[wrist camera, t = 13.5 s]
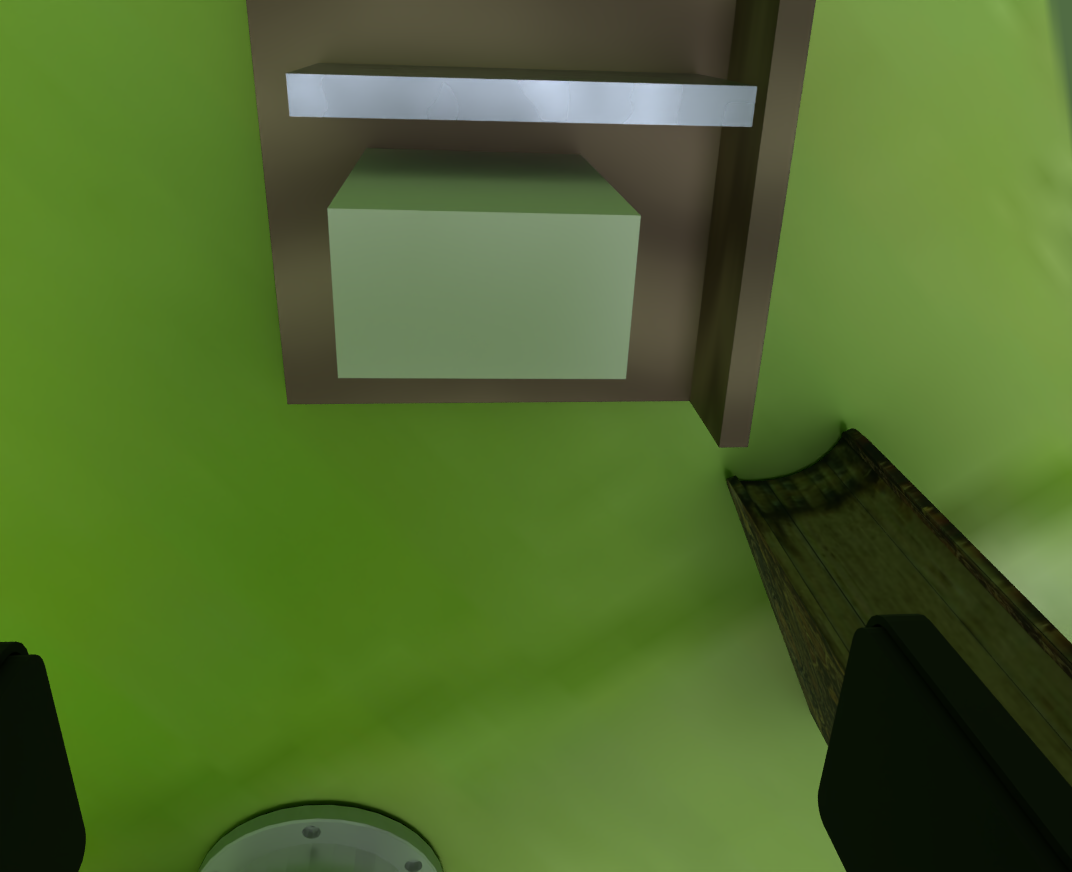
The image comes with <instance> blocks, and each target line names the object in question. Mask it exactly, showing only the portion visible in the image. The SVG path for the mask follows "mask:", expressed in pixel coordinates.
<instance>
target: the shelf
mask: <svg viewBox="0 0 1072 872" xmlns="http://www.w3.org/2000/svg"><path fill="white" fill-rule="evenodd" d="M815 2H816V0H246V3H247V13H248V23H249V32H250V42H251V52H252V62H253V72H254V81H255V91H256V101H257V111H258V120H259V130H260V140H261V150H262V159H263V169H264V179H265V189H266V198H267V208H268V218H269V228H270V237H271V247H272V257H273V267H274V276H275V286H276V296H277V306H278V315H279V325H280V335H281V345H282V354H283V364H284V374H285V384H286V393H287V403H288V404H373V403H494V402H615V401H690V402H691V404H692V405H693V407H694V408H695V410H696V412H697V413H698V415H699V416H700V418H701V419H702V421H703V423H704V424H705V426H706V427H707V429H708V431H709V432H710V434H711V435H712V437H713V438H714V440H715V442H716V443H717V445H718V446H719V447H748V443H749V436H750V430H751V423H752V416H753V410H754V403H755V397H756V390H757V383H758V377H759V370H760V364H761V357H762V351H763V344H764V337H765V331H766V324H767V318H768V311H769V305H770V298H771V291H772V285H773V278H774V272H775V265H776V259H777V252H778V245H779V239H780V232H781V226H782V219H783V212H784V206H785V199H786V193H787V186H788V180H789V173H790V166H791V160H792V153H793V147H794V140H795V134H796V127H797V120H798V114H799V107H800V101H801V94H802V87H803V81H804V74H805V68H806V61H807V55H808V48H809V41H810V35H811V28H812V22H813V15H814V9H815ZM366 148H380V149H414V150H447V151H480V152H514V153H547V154H581V155H582V156H583V157H584V158H585V159H586V160H587V161H588V162H589V164H590V165H591V166H592V167H593V168H594V169H595V170H596V171H597V172H598V173H599V174H600V175H601V176H602V177H603V178H604V179H605V180H606V181H607V182H608V183H609V184H610V185H611V186H612V187H613V188H614V189H615V190H616V191H617V192H618V193H619V194H620V195H621V196H622V197H623V198H624V199H625V200H626V201H627V202H628V203H629V204H630V205H631V206H632V207H633V208H634V209H635V210H636V211H637V212H638V213H639V214H640V215H641V219H640V230H639V241H638V252H637V263H636V274H635V285H634V296H633V307H632V318H631V328H630V339H629V350H628V361H627V372H626V379H463V378H338V370H337V354H336V338H335V322H334V306H333V290H332V274H331V258H330V243H329V227H328V211H327V208H328V207H329V205H330V204H331V202H332V200H333V199H334V197H335V196H336V194H337V193H338V191H339V190H340V188H341V187H342V185H343V184H344V182H345V180H346V179H347V177H348V176H349V174H350V173H351V171H352V170H353V168H354V167H355V165H356V163H357V162H358V160H359V159H360V157H361V156H362V154H363V153H364V151H365V150H366Z"/></svg>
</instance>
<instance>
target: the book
mask: <svg viewBox="0 0 1072 872" xmlns="http://www.w3.org/2000/svg"><path fill="white" fill-rule="evenodd" d="M726 481H727V485H728V488H729V490H730V493H731V496H732V499H733V502H734V504H735V507H736V510H737V513H738V515H739V518H740V521H741V524H742V527H743V529H744V532H745V535H746V538H747V540H748V543H749V546H750V549H751V551H752V554H753V557H754V560H755V562H756V565H757V568H758V570H759V573H760V576H761V579H762V581H763V584H764V587H765V590H766V592H767V595H768V598H769V600H770V603H771V606H772V609H773V611H774V614H775V617H776V620H777V622H778V625H779V628H780V630H781V633H782V636H783V639H784V641H785V644H786V647H787V650H788V652H789V655H790V658H791V660H792V663H793V666H794V669H795V671H796V674H797V677H798V680H799V682H800V685H801V688H802V690H803V693H804V696H805V699H806V701H807V704H808V707H809V710H810V712H811V714H812V716H813V718H814V720H815V722H816V724H817V726H818V728H819V730H820V732H821V734H822V735H823V737H824V739H825V741H826V743H827V745H828V746H829V741H830V737H831V732H832V728H833V723H834V719H835V714H836V710H837V706H838V701H839V697H840V692H841V688H842V683H843V679H844V674H845V670H846V665H847V661H848V656H849V652H850V648H851V643H852V639H853V636H854V633H855V631H856V630H857V629H858V628H861V627H866V624H867V622H868V620H869V619H870V618H871V617H872V616H875V615H887V614H922V615H924V616H926V617H927V618H928V619H929V620H930V621H931V622H932V623H933V624H934V626H935V627H936V628H937V629H938V630H939V631H940V633H941V634H942V635H943V636H944V637H945V639H946V640H947V641H948V642H949V643H950V644H951V646H952V647H953V648H954V649H955V650H956V651H957V653H958V654H959V655H960V656H961V657H962V659H963V660H964V661H965V662H966V663H967V664H968V666H969V667H970V668H971V669H972V670H973V671H974V673H975V674H976V675H977V676H978V677H979V678H980V680H981V681H982V682H983V683H984V684H985V686H986V687H987V688H988V689H989V690H990V691H991V693H992V694H993V695H994V696H995V697H996V698H997V700H998V701H999V702H1000V703H1001V704H1002V706H1003V707H1004V708H1005V709H1006V710H1007V711H1008V713H1009V714H1010V715H1011V716H1012V717H1013V718H1014V720H1015V721H1016V722H1017V723H1018V724H1019V725H1020V727H1021V728H1022V729H1023V730H1024V731H1025V733H1026V734H1027V735H1028V736H1029V737H1030V738H1031V740H1032V741H1033V742H1034V743H1035V744H1036V745H1037V747H1038V748H1039V749H1040V750H1041V751H1042V753H1043V754H1044V755H1045V756H1046V757H1047V758H1048V760H1049V761H1050V762H1051V763H1052V764H1053V765H1054V767H1055V768H1056V769H1057V770H1058V771H1059V772H1060V774H1061V775H1062V776H1063V777H1064V778H1065V780H1066V781H1067V782H1068V783H1069V784H1070V785H1071V787H1072V644H1071V643H1070V642H1069V641H1068V640H1067V639H1066V638H1065V637H1064V636H1063V635H1062V634H1061V633H1060V632H1059V631H1058V630H1057V629H1056V628H1055V627H1054V625H1053V624H1052V623H1051V622H1050V621H1049V620H1048V619H1047V618H1046V617H1045V616H1044V615H1043V614H1042V613H1041V612H1040V611H1039V610H1038V609H1037V608H1036V607H1035V606H1034V605H1033V604H1032V603H1031V602H1030V601H1029V600H1028V599H1027V598H1026V597H1025V596H1024V595H1023V594H1022V593H1021V592H1020V591H1019V590H1018V589H1017V588H1016V587H1015V586H1014V585H1013V584H1012V583H1011V582H1010V581H1009V580H1008V579H1007V578H1006V577H1005V576H1004V575H1003V574H1002V573H1001V572H1000V571H999V570H998V569H997V568H996V567H995V566H994V565H993V564H992V563H991V562H990V561H989V560H988V559H987V558H986V557H985V556H984V555H983V554H982V553H981V552H980V551H979V550H978V549H977V548H976V547H975V546H974V545H973V544H972V543H971V542H970V541H969V540H968V539H967V538H966V537H965V536H964V535H963V534H962V533H961V532H960V531H959V530H958V529H957V528H956V527H955V526H954V525H953V524H952V523H951V522H950V521H949V520H948V519H947V518H946V517H945V516H944V515H943V514H942V513H941V512H940V511H939V510H938V509H937V508H936V507H935V506H934V505H933V504H932V503H931V502H930V501H929V500H928V499H927V498H926V497H925V496H924V495H923V494H922V493H921V492H920V491H919V490H918V489H917V488H916V487H915V486H914V485H913V484H912V483H911V482H910V481H909V480H908V479H907V478H906V477H905V476H904V475H903V474H902V473H901V472H900V471H899V470H898V469H897V468H896V467H895V466H894V465H893V464H892V463H891V462H890V461H889V460H888V459H887V458H886V457H885V456H884V455H883V454H882V453H881V452H880V451H879V450H878V449H877V448H876V447H875V446H874V445H873V444H872V443H871V442H870V441H869V440H868V439H867V438H866V437H865V436H863V435H862V434H861V433H860V432H859V431H857V430H856V429H854V428H852V429H850V430H847V431H845V432H843V433H842V438H841V439H840V441H839V442H838V443H837V445H836V446H835V447H834V448H833V449H832V450H831V451H830V453H829V454H827V455H826V456H825V457H824V458H823V459H822V460H820V461H819V462H818V463H816V464H815V465H813V466H811V467H809V468H807V469H806V470H804V471H801V472H799V473H796V474H794V475H790V476H787V477H783V478H778V479H773V480H765V481H740V480H739V479H738V478H737V477H736V476H734V477H731V478H729V479H726Z"/></svg>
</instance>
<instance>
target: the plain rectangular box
mask: <svg viewBox="0 0 1072 872" xmlns="http://www.w3.org/2000/svg"><path fill="white" fill-rule="evenodd" d="M327 211H328V227H329V243H330V258H331V274H332V290H333V306H334V322H335V338H336V354H337V370H338V378H463V379H626V372H627V361H628V350H629V339H630V328H631V318H632V307H633V296H634V285H635V274H636V263H637V252H638V241H639V230H640V219H641V215H640V214H639V213H638V212H637V211H636V210H635V209H634V208H633V207H632V206H631V205H630V204H629V203H628V202H627V201H626V200H625V199H624V198H623V197H622V196H621V195H620V194H619V193H618V192H617V191H616V190H615V189H614V188H613V187H612V186H611V185H610V184H609V183H608V182H607V181H606V180H605V179H604V178H603V177H602V176H601V175H600V174H599V173H598V172H597V171H596V170H595V169H594V168H593V167H592V166H591V165H590V164H589V162H588V161H587V160H586V159H585V158H584V157H583V156H582V155H581V154H547V153H514V152H480V151H447V150H414V149H380V148H366V150H365V151H364V153H363V154H362V156H361V157H360V159H359V160H358V162H357V163H356V165H355V167H354V168H353V170H352V171H351V173H350V174H349V176H348V177H347V179H346V180H345V182H344V184H343V185H342V187H341V188H340V190H339V191H338V193H337V194H336V196H335V197H334V199H333V200H332V202H331V204H330V205H329V207H328V208H327Z"/></svg>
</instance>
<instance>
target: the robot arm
mask: <svg viewBox="0 0 1072 872" xmlns="http://www.w3.org/2000/svg"><path fill="white" fill-rule="evenodd" d="M818 806H819V812H820V816H821V820H822V822H823V825H824V827H825V829H826V831H827V833H828V835H829V837H830V839H831V841H832V843H833V845H834V847H835V849H836V851H837V853H838V855H839V858H840V860H841V862H842V864H843V866H844V868H845V870H846V872H1072V787H1071V785H1070V784H1069V783H1068V782H1067V781H1066V780H1065V778H1064V777H1063V776H1062V775H1061V774H1060V772H1059V771H1058V770H1057V769H1056V768H1055V767H1054V765H1053V764H1052V763H1051V762H1050V761H1049V760H1048V758H1047V757H1046V756H1045V755H1044V754H1043V753H1042V751H1041V750H1040V749H1039V748H1038V747H1037V745H1036V744H1035V743H1034V742H1033V741H1032V740H1031V738H1030V737H1029V736H1028V735H1027V734H1026V733H1025V731H1024V730H1023V729H1022V728H1021V727H1020V725H1019V724H1018V723H1017V722H1016V721H1015V720H1014V718H1013V717H1012V716H1011V715H1010V714H1009V713H1008V711H1007V710H1006V709H1005V708H1004V707H1003V706H1002V704H1001V703H1000V702H999V701H998V700H997V698H996V697H995V696H994V695H993V694H992V693H991V691H990V690H989V689H988V688H987V687H986V686H985V684H984V683H983V682H982V681H981V680H980V678H979V677H978V676H977V675H976V674H975V673H974V671H973V670H972V669H971V668H970V667H969V666H968V664H967V663H966V662H965V661H964V660H963V659H962V657H961V656H960V655H959V654H958V653H957V651H956V650H955V649H954V648H953V647H952V646H951V644H950V643H949V642H948V641H947V640H946V639H945V637H944V636H943V635H942V634H941V633H940V631H939V630H938V629H937V628H936V627H935V626H934V624H933V623H932V622H931V621H930V620H929V619H928V618H927V617H926V616H924V615H922V614H887V615H875V616H872V617H871V618H870V619H869V620H868V622H867V624H866V627H861V628H858V629H857V630H856V631H855V633H854V636H853V639H852V643H851V648H850V652H849V656H848V661H847V665H846V670H845V674H844V679H843V683H842V688H841V692H840V697H839V701H838V706H837V710H836V714H835V719H834V723H833V728H832V732H831V737H830V741H829V746H828V750H827V755H826V759H825V763H824V768H823V772H822V777H821V781H820V786H819V791H818ZM85 844H86V834H85V827H84V823H83V819H82V815H81V811H80V807H79V803H78V799H77V795H76V790H75V786H74V782H73V778H72V774H71V770H70V766H69V762H68V758H67V754H66V750H65V746H64V742H63V737H62V733H61V729H60V725H59V721H58V717H57V713H56V709H55V705H54V701H53V697H52V693H51V689H50V684H49V680H48V676H47V672H46V668H45V665H44V662H43V659H42V658H41V657H40V656H39V655H29V654H28V652H27V649H26V648H25V646H24V645H23V644H22V643H19V642H0V872H78V871H79V869H80V866H81V863H82V860H83V856H84V852H85ZM199 872H443V871H442V867H441V864H440V861H439V860H438V858H437V857H436V855H435V854H434V852H433V850H432V849H431V847H430V846H429V845H428V844H427V843H426V842H425V841H424V840H423V839H422V838H421V837H419V836H418V835H417V834H416V833H415V832H413V831H411V830H410V829H408V828H407V827H405V826H404V825H402V824H401V823H399V822H397V821H394V820H392V819H390V818H387V817H385V816H383V815H381V814H378V813H374V812H370V811H367V810H363V809H359V808H354V807H346V806H337V805H306V806H299V807H293V808H286V809H281V810H278V811H275V812H271V813H268V814H265V815H261V816H258V817H256V818H254V819H252V820H250V821H248V822H246V823H244V824H242V825H240V826H238V827H236V828H235V829H234V830H232V831H231V832H229V833H228V834H227V835H225V836H224V837H223V838H221V839H220V840H219V841H218V842H217V844H216V845H215V846H214V847H213V848H212V849H211V850H210V851H209V852H208V854H207V856H206V857H205V859H204V861H203V863H202V865H201V866H200V868H199Z"/></svg>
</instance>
